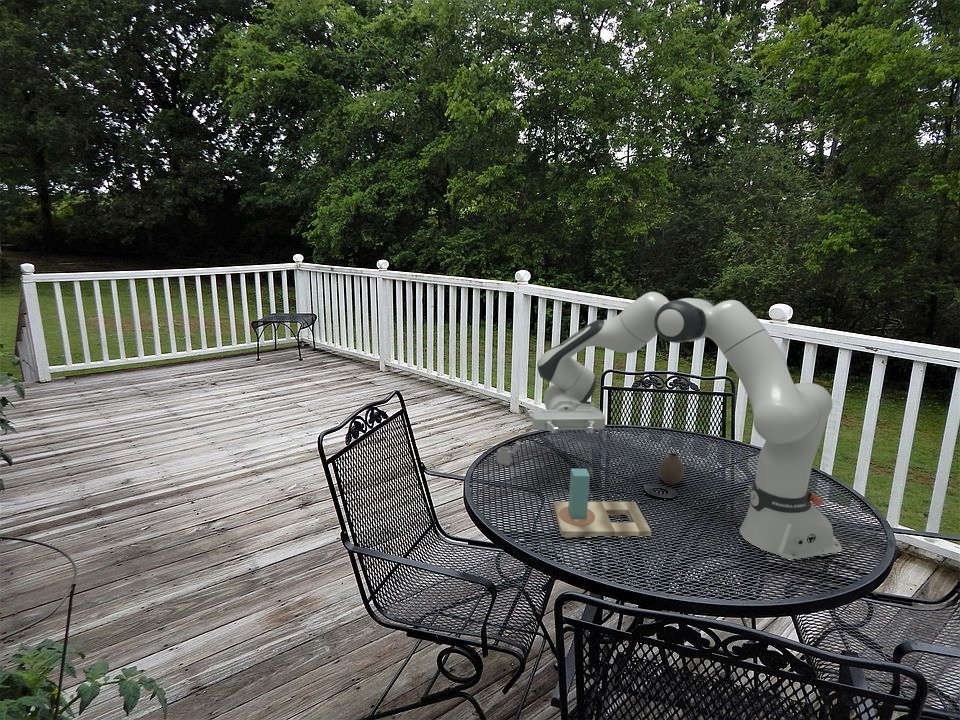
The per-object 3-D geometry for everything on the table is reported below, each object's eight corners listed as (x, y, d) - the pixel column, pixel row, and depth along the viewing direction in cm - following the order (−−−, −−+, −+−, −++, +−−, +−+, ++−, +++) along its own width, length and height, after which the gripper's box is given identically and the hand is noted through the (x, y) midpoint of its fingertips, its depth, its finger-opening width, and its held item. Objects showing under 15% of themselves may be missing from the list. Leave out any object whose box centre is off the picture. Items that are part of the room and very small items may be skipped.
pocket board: (634, 508, 153) (635, 501, 153) (650, 538, 140) (651, 531, 139) (553, 508, 153) (553, 501, 152) (561, 538, 139) (562, 531, 139)
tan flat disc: (590, 506, 150) (590, 505, 150) (598, 525, 142) (598, 524, 141) (556, 506, 150) (556, 505, 150) (562, 525, 141) (562, 524, 141)
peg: (583, 510, 148) (586, 468, 144) (586, 519, 144) (589, 476, 140) (568, 510, 148) (570, 468, 144) (570, 518, 144) (573, 476, 140)
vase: (677, 489, 164) (681, 462, 161) (654, 482, 168) (657, 455, 165) (685, 480, 169) (689, 453, 166) (662, 473, 173) (666, 447, 170)
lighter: (496, 463, 178) (497, 439, 175) (498, 460, 179) (499, 437, 177) (519, 466, 176) (519, 443, 173) (520, 464, 177) (521, 440, 175)
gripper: (528, 402, 165) (534, 420, 152) (598, 402, 166) (610, 419, 152) (528, 423, 167) (533, 442, 154) (597, 422, 167) (609, 441, 154)
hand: (572, 430), depth 153 cm, fingers open, 8 cm apart
